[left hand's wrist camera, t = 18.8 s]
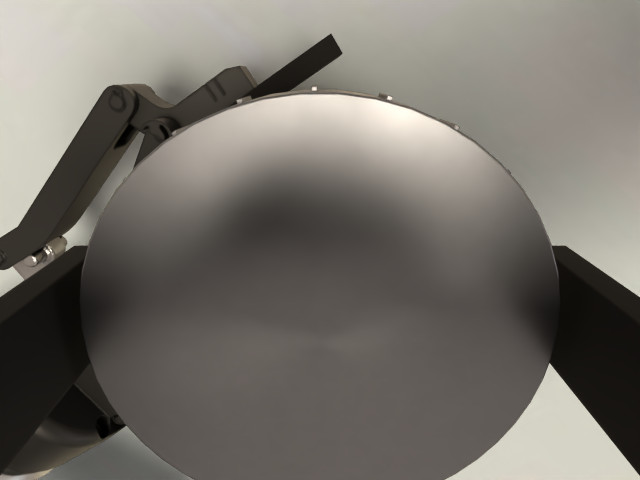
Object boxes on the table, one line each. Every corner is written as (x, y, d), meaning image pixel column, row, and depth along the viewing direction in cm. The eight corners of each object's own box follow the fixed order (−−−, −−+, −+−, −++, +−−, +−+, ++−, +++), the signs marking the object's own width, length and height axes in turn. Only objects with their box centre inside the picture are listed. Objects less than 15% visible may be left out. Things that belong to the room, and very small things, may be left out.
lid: (64, 379, 13) (24, 427, 11) (199, -10, 9) (171, -29, 8) (395, 501, 15) (405, 558, 13) (615, 213, 11) (670, 238, 9)
